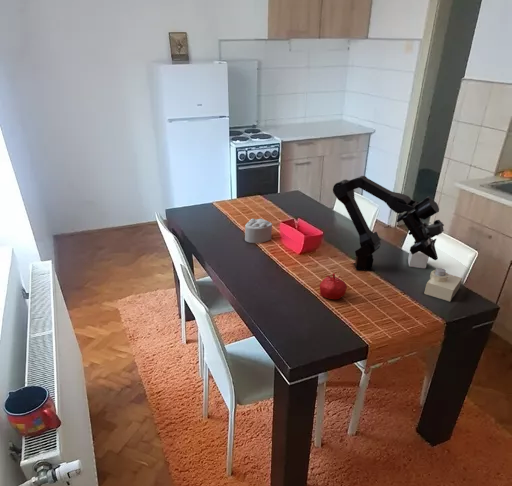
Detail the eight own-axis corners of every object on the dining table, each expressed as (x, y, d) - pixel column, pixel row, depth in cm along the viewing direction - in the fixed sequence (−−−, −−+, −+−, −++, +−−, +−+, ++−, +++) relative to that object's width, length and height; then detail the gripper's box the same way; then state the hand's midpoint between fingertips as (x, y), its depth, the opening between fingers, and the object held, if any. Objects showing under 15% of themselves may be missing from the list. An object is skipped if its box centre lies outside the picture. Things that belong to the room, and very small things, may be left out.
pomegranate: (338, 305, 172) (342, 282, 167) (314, 297, 177) (317, 275, 172) (349, 294, 180) (352, 272, 175) (325, 287, 184) (328, 265, 179)
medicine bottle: (425, 268, 202) (432, 243, 196) (408, 266, 203) (415, 241, 197) (424, 262, 208) (430, 236, 202) (407, 260, 209) (413, 234, 203)
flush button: (433, 274, 182) (435, 270, 181) (436, 271, 185) (437, 267, 184) (443, 277, 181) (444, 272, 179) (445, 274, 183) (446, 269, 182)
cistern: (422, 293, 183) (426, 277, 179) (432, 281, 192) (436, 265, 189) (450, 301, 178) (454, 285, 174) (458, 289, 187) (463, 273, 184)
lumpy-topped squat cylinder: (274, 238, 224) (275, 221, 219) (254, 245, 216) (255, 227, 212) (259, 232, 230) (259, 215, 226) (239, 238, 222) (239, 221, 218)
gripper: (425, 221, 168) (448, 258, 169) (440, 208, 181) (462, 242, 182) (400, 236, 176) (422, 271, 176) (416, 222, 189) (436, 255, 190)
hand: (436, 259), depth 181 cm, fingers closed
